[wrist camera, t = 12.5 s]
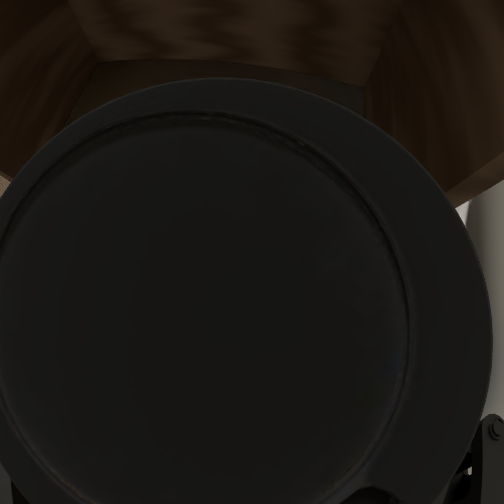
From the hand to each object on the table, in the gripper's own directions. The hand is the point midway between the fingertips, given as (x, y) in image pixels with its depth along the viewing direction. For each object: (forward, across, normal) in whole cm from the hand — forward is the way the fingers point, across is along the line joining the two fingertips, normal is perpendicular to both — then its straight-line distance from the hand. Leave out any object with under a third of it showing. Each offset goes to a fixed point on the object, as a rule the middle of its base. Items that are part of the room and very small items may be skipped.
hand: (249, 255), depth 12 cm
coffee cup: (+2, 0, -6) cm, 7 cm away
